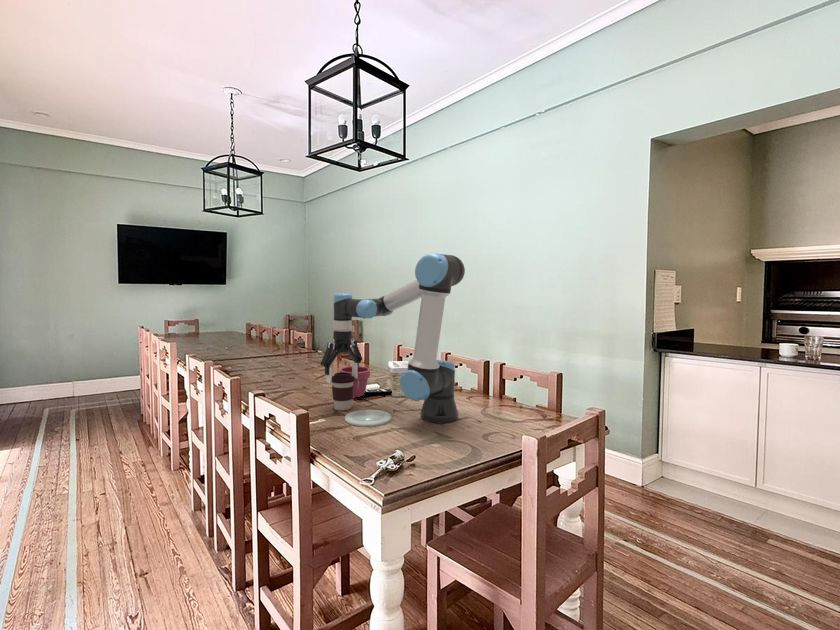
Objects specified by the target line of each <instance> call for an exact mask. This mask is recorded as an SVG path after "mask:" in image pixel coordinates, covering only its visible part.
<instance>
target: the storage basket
mask: <svg viewBox="0 0 840 630" xmlns="http://www.w3.org/2000/svg"><path fill="white" fill-rule="evenodd" d="M408 362H409V360H402V361H401V360H400V361H399V360H397V361H396V360H393V361H391V360H390V361H388V362H387V369H388V371H389V375H388V377H389V384H390V392H391V391H392V393H391V396H392V397H397V398H400V397H406V396H405V394H404V392H403V391H402V389H401V386H400V379H401V376H402V374H404V372H406V371H407V370H408Z"/></svg>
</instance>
